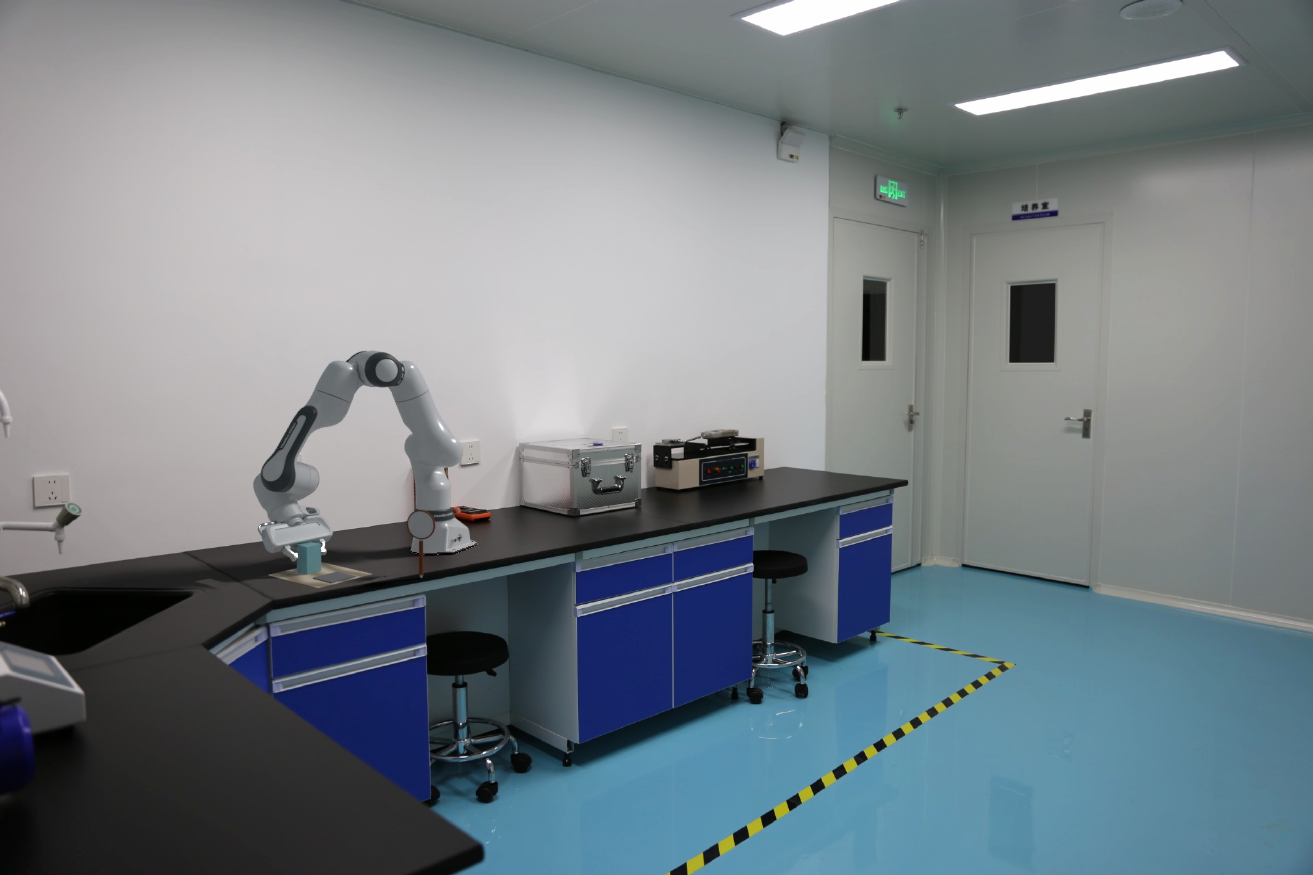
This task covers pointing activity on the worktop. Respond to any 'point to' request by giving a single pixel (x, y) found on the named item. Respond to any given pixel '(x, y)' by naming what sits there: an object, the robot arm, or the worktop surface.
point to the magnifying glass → (421, 530)
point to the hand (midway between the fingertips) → (310, 557)
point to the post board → (325, 569)
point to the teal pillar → (309, 558)
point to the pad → (334, 577)
